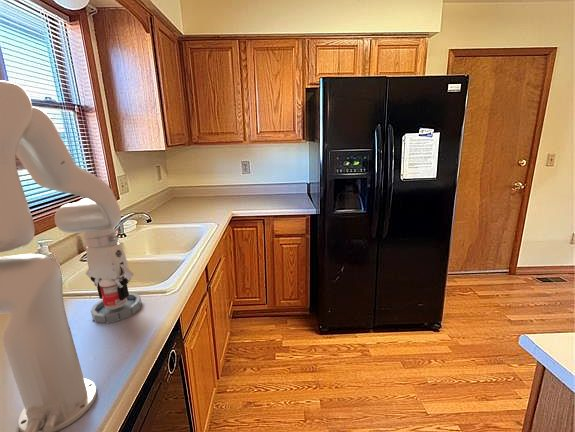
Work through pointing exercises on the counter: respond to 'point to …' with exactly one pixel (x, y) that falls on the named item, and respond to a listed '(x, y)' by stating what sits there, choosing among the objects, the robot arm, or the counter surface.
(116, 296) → the pill bottle
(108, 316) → the round grey tray
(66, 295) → the counter surface
